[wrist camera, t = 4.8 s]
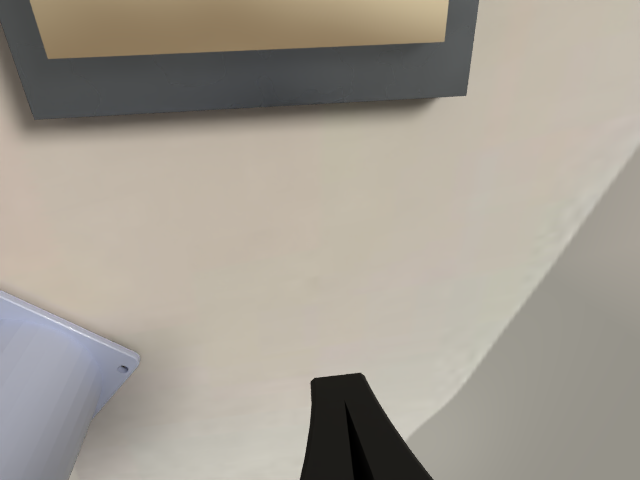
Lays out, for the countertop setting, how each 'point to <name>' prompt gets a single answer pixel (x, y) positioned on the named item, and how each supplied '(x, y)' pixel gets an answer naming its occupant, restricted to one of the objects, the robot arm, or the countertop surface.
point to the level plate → (230, 25)
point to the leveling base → (237, 73)
